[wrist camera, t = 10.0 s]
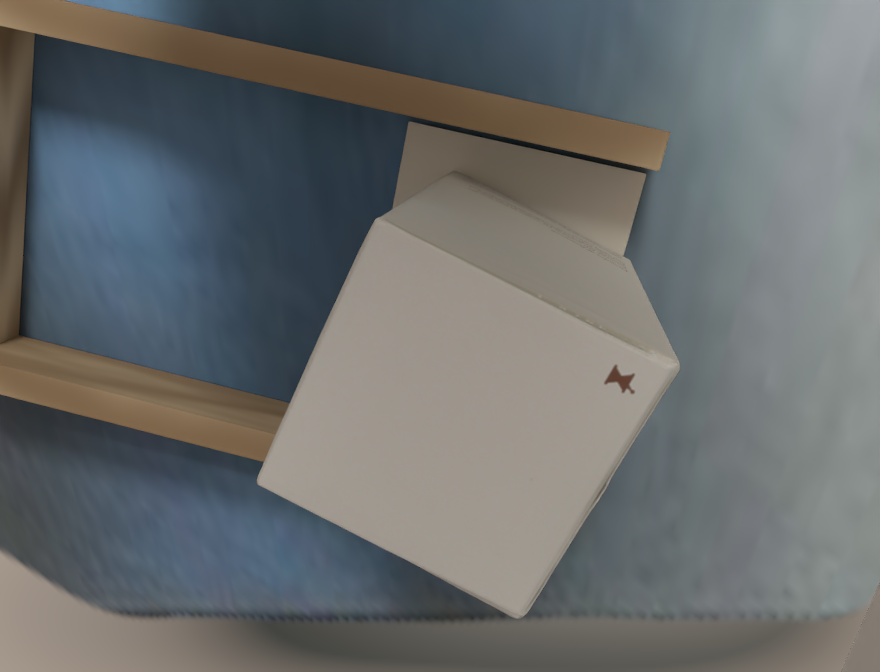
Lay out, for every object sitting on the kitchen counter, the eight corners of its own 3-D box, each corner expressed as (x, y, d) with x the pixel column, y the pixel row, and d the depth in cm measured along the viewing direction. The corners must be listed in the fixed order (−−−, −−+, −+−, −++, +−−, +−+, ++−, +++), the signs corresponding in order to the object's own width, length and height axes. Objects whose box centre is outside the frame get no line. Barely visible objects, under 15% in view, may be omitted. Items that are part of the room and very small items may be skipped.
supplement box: (451, 163, 28) (376, 200, 16) (636, 259, 28) (697, 369, 16) (365, 338, 31) (243, 485, 19) (536, 427, 31) (525, 633, 19)
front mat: (409, 121, 28) (408, 121, 28) (645, 173, 28) (646, 173, 28) (354, 411, 32) (353, 413, 31) (564, 464, 31) (564, 466, 31)
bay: (5, -12, 29) (-54, -25, 26) (658, 130, 27) (670, 132, 24) (-10, 355, 33) (-63, 378, 30) (554, 498, 32) (554, 536, 29)
